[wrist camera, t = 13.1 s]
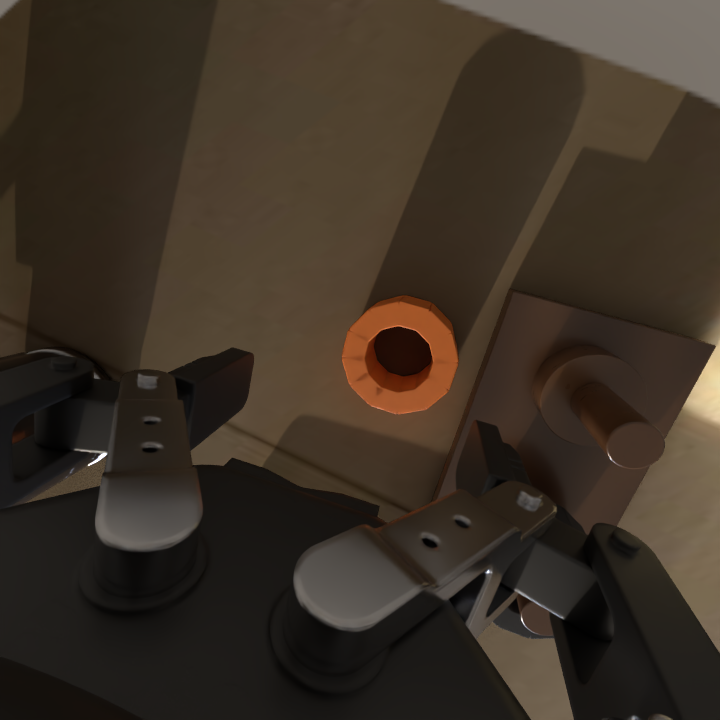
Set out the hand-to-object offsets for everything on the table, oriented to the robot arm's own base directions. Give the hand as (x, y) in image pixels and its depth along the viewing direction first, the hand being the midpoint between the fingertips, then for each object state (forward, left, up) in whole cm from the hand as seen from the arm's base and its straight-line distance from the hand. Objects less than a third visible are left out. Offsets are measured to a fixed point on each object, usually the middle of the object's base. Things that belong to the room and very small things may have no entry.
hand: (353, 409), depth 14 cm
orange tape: (+1, 0, -11) cm, 11 cm away
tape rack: (+10, -4, -11) cm, 16 cm away
